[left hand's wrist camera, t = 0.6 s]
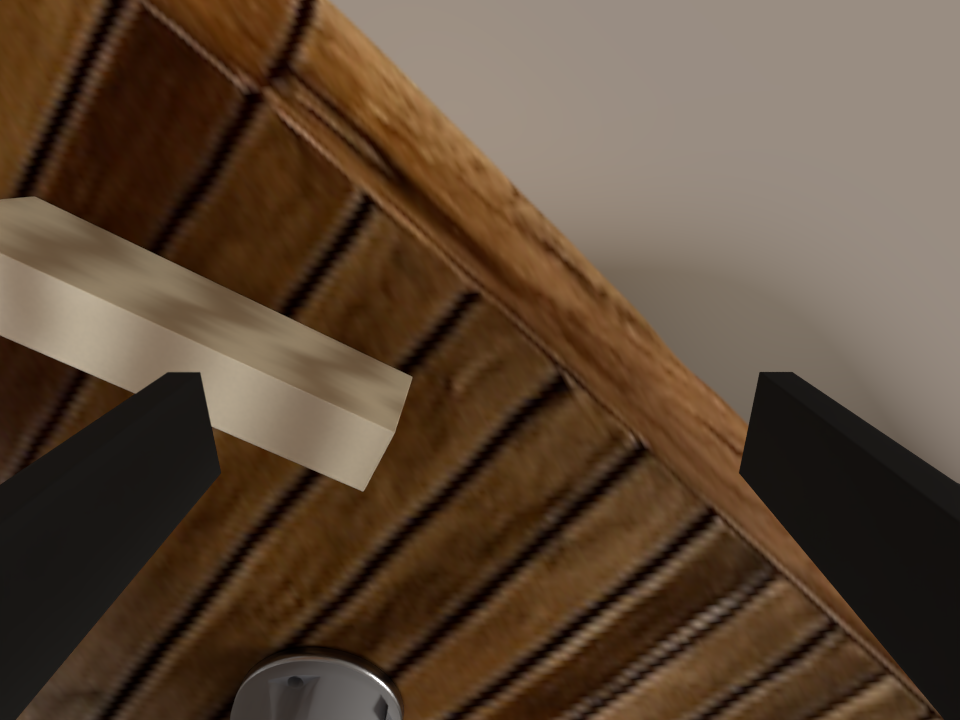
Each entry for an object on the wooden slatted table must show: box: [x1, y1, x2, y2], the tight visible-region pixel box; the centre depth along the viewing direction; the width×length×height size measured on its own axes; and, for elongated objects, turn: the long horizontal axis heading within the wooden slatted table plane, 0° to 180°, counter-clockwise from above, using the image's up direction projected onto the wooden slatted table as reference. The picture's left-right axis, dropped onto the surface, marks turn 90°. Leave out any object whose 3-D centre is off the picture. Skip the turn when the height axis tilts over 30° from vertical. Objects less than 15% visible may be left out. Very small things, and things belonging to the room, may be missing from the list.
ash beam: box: [0, 197, 412, 491], centre depth 32 cm, size 26×4×8 cm, turn 62°
